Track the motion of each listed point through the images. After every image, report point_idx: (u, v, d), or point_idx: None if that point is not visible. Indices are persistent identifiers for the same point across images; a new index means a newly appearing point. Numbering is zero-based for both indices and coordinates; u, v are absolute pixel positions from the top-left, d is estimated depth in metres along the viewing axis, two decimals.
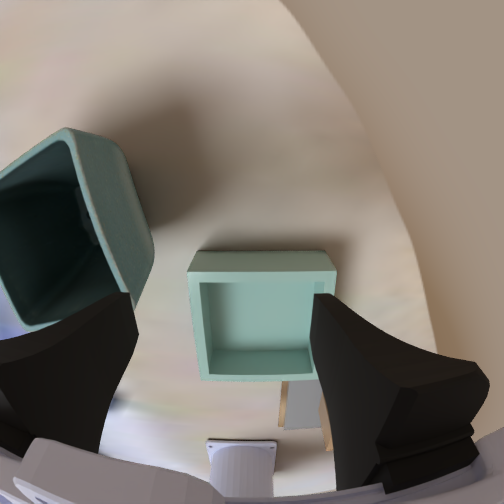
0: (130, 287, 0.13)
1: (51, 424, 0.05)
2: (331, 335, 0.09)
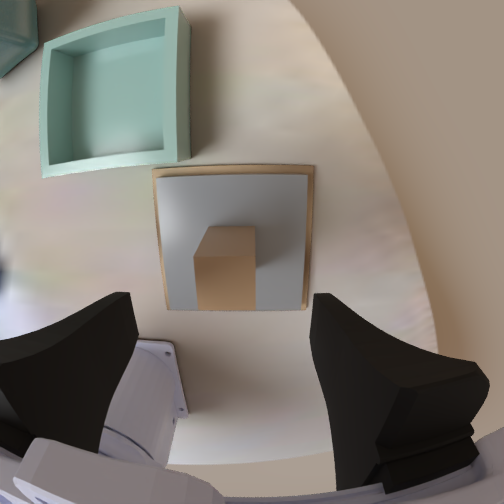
0: None
1: (51, 424, 0.05)
2: (331, 335, 0.09)
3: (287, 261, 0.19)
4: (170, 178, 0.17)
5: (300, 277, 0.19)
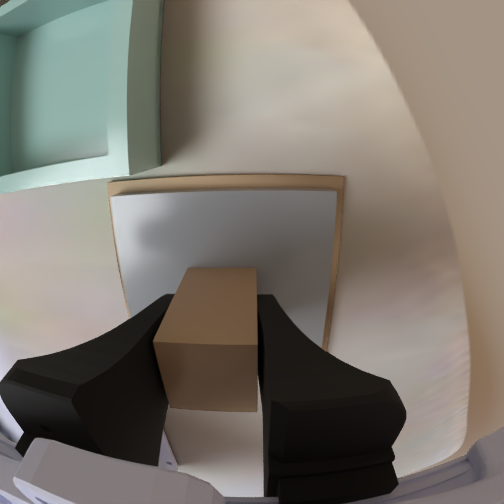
0: None
1: (123, 444, 0.05)
2: (260, 337, 0.09)
3: (302, 315, 0.13)
4: (130, 196, 0.11)
5: (319, 334, 0.13)
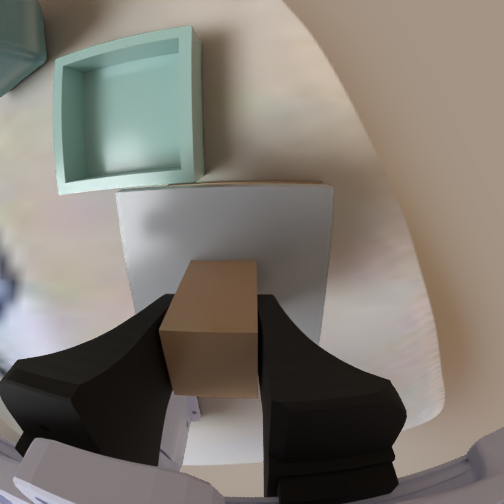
0: None
1: (123, 444, 0.05)
2: (260, 337, 0.09)
3: (301, 306, 0.14)
4: (135, 192, 0.12)
5: (317, 325, 0.14)
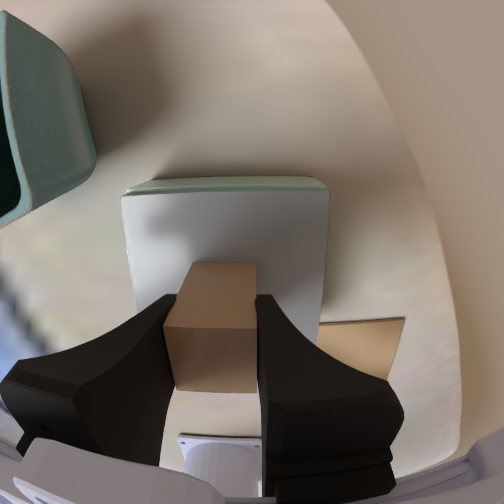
0: (31, 175, 0.08)
1: (124, 444, 0.05)
2: (259, 337, 0.09)
3: (298, 307, 0.14)
4: (139, 197, 0.12)
5: (315, 326, 0.14)
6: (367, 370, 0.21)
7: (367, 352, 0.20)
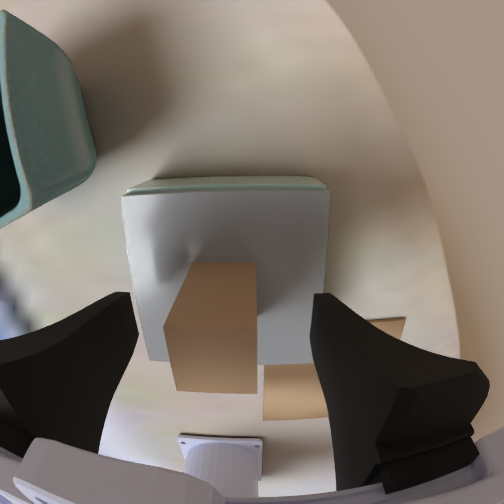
0: (31, 175, 0.08)
1: (51, 424, 0.05)
2: (331, 335, 0.09)
3: (299, 307, 0.14)
4: (139, 196, 0.12)
5: None
6: None
7: None
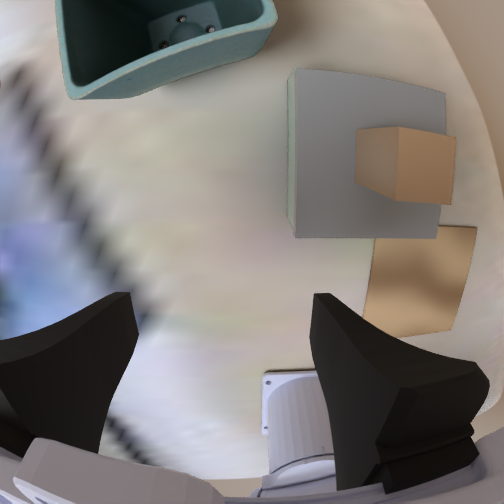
0: None
1: (51, 424, 0.05)
2: (331, 335, 0.09)
3: None
4: (314, 70, 0.13)
5: None
6: (450, 280, 0.21)
7: (451, 258, 0.21)
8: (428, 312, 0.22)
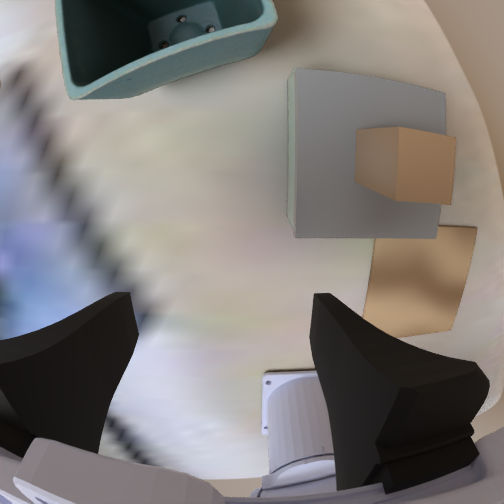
0: None
1: (51, 424, 0.05)
2: (331, 335, 0.09)
3: None
4: (314, 70, 0.13)
5: None
6: (450, 280, 0.21)
7: (451, 258, 0.21)
8: (428, 312, 0.22)
